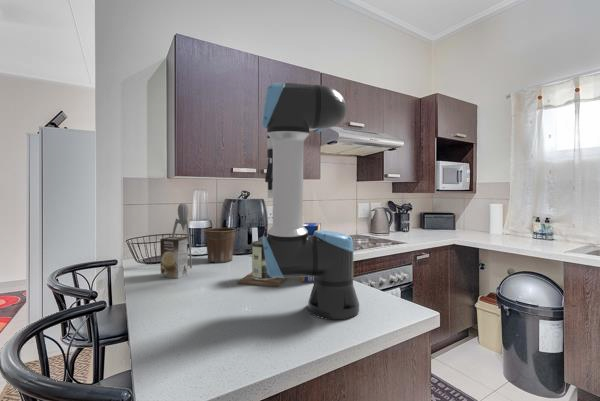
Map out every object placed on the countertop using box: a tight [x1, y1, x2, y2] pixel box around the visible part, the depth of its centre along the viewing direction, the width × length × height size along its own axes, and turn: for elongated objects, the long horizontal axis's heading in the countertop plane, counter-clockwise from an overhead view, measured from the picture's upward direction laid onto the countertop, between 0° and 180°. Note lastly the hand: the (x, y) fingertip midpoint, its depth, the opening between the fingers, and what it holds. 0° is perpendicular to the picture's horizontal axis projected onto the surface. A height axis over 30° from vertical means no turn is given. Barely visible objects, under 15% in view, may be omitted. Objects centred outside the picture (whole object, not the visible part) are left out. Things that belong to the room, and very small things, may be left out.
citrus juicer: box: [171, 202, 193, 269], centre depth 141 cm, size 11×10×30 cm
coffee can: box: [251, 240, 275, 280], centre depth 120 cm, size 10×10×14 cm
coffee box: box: [159, 236, 188, 279], centre depth 125 cm, size 9×6×16 cm
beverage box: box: [300, 222, 322, 283], centre depth 121 cm, size 7×11×22 cm, turn 170°
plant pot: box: [203, 227, 237, 264], centre depth 153 cm, size 16×16×16 cm
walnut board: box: [237, 271, 287, 288], centre depth 120 cm, size 16×16×1 cm
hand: (276, 197), depth 131 cm, fingers open, 13 cm apart
